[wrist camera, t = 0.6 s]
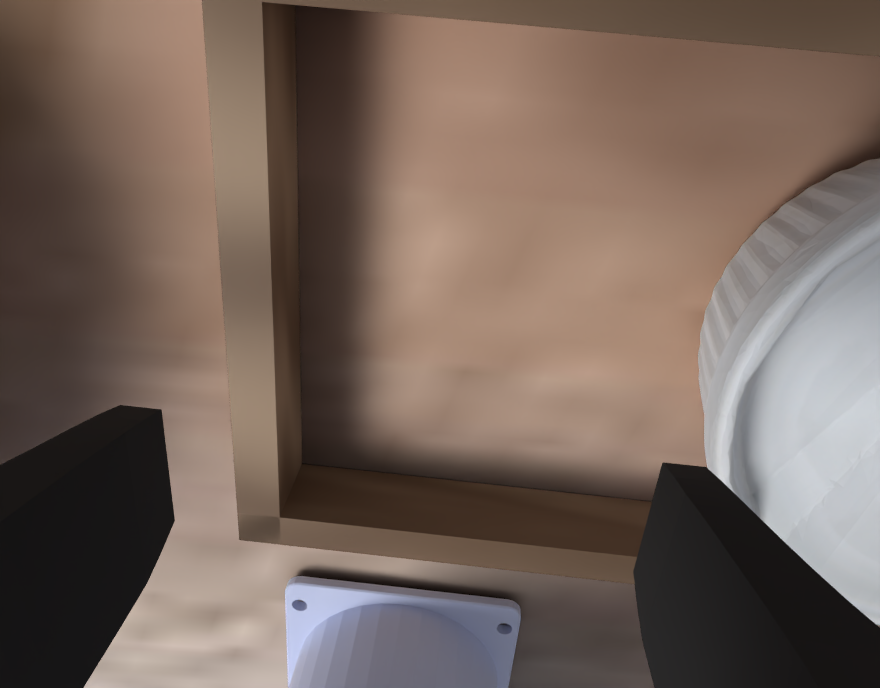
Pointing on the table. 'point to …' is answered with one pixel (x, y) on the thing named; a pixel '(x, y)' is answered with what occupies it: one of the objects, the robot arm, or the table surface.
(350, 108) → the table surface
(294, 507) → the brown wooden flat frame
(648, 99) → the table surface
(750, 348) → the ramekin
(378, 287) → the table surface
